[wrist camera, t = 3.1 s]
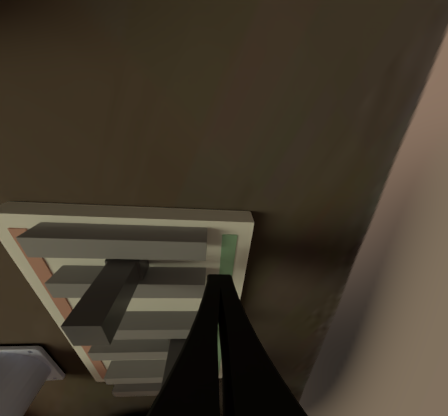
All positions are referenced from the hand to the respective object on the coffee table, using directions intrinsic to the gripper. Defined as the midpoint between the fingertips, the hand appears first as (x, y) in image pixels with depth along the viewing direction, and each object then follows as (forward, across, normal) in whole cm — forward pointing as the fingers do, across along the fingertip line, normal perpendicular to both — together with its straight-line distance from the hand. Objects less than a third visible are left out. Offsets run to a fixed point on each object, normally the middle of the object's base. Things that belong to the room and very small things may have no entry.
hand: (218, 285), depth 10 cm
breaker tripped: (+2, +6, 0) cm, 6 cm away
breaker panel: (+4, +6, +9) cm, 11 cm away
